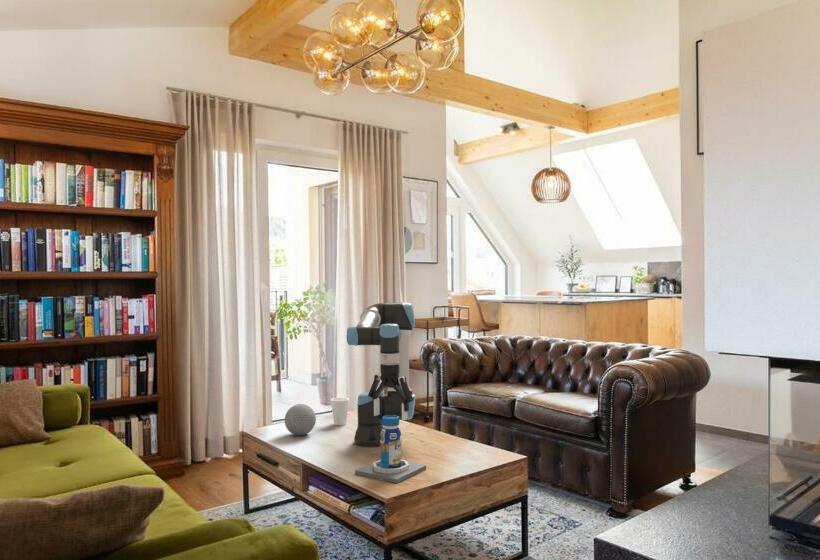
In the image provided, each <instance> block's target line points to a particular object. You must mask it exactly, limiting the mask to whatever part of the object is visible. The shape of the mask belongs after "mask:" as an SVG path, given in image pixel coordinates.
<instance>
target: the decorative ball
mask: <svg viewBox="0 0 820 560" xmlns="http://www.w3.org/2000/svg"><path fill="white" fill-rule="evenodd" d="M316 421H317V417H316V413H315V411H314V409H313V407H310V405H307V404H304V403H297V404H294V405H292V406H291V407H290V408H289V409H288V410H287V411H286V413H285V416H284V425H285V427H286V429H287V431H288V432H289V433H291V434H292V435H294V436H305V435H308V434H309V433H310V432H311V431H312V430H313V429H314V427H315V426H316V423H317V422H316Z"/></svg>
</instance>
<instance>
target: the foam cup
mask: <svg viewBox="0 0 820 560" xmlns="http://www.w3.org/2000/svg"><path fill="white" fill-rule="evenodd" d="M349 404H350V398H349V397H343V396H342V397H333V398H331V399H330V406H331V411H332V419H333V425H334V424H335V426H337V425H341V426H345V424H346V425H347V422H348V421H347V420H348V411H349Z"/></svg>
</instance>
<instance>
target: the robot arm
mask: <svg viewBox="0 0 820 560" xmlns="http://www.w3.org/2000/svg"><path fill="white" fill-rule="evenodd" d="M415 327H416V318H415V312H414V307H413V304H412V303H409V302H378V303H375V304H372V305H370V306H368V307H366V308H365V309H364V310H363V311H362V312H361V313H360V316H359V322H358V323H357V324H356V326H350V327H348V328H347V329H346V342H347V345H349V346H356V347H357V346H379V349H380V350H379V353H380V355H379V358H380V359H379V360H380V361H379V362H380V363H381V364H380V367H379V368H380V369H379V370H380V372H379V373H378V374H374V377H373V382H372V384H371V386H370V389H369V391H364V392H362V393H359V395H358V396H357V404H356V406H357V427H356V431H355V434H354V437H353V440H354V441H353V442H354V445H356V446H361V447H379V446H381V444H380V439H381V435H380V433H381V430H382V429H383V427H384V426H383V425H382V417H383V416H386V415H396V416H398V417H399V421H406V420H407V421H410V420H411V419H413V417H414V412H415V406H416V394H415V393H413V389H412V388H411V387H410V335H411V333H413V328H415ZM380 381H381V383H380ZM385 388H388V389H387V391H386V392H387V393H386V394H385V393H383V390H384V389H385Z"/></svg>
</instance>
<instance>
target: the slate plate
mask: <svg viewBox="0 0 820 560" xmlns="http://www.w3.org/2000/svg"><path fill="white" fill-rule="evenodd" d="M426 470H427V465H426V464H421V463H415V462H413V461H412V462H411V461H408V460H405V459H401V467H400V468H392V469H385V468H381V458H380V459H378V460H376V461H373V462H371V463H368V464H366V465H364V466H362V467H359V468H357V469H355V470H354V474H355V475H357V476H362V477H366V478H370V477H371V479H375V478H376V480H379V479H381V480H380V481H384V480H385V482H388V481H390V482H389V483H392V482H394V483H393V484H398V482H399V483H400V481H401V482H403V481H405V480H407V479H409V478H411V477H412V475H413V476H415V475H417V474H419V473H421V472H424V471H426ZM418 472H419V473H418ZM416 473H417V474H416ZM414 474H415V475H414ZM410 476H411V477H410ZM408 477H409V478H408Z"/></svg>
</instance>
